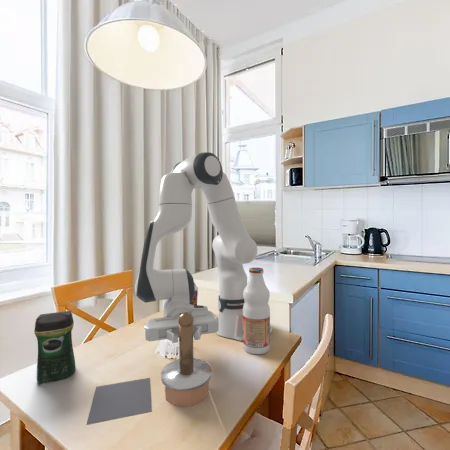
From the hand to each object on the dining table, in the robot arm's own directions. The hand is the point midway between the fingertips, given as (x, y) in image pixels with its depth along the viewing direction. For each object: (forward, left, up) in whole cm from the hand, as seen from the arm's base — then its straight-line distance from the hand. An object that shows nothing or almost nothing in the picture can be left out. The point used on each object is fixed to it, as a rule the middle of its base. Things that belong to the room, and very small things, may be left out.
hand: (186, 338), depth 71 cm
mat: (+16, -3, -15) cm, 22 cm away
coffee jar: (+35, -20, -15) cm, 43 cm away
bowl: (0, -1, -15) cm, 15 cm away
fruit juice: (-27, -18, -15) cm, 36 cm away
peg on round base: (0, -1, -10) cm, 10 cm away
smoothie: (-9, -52, -15) cm, 55 cm away
